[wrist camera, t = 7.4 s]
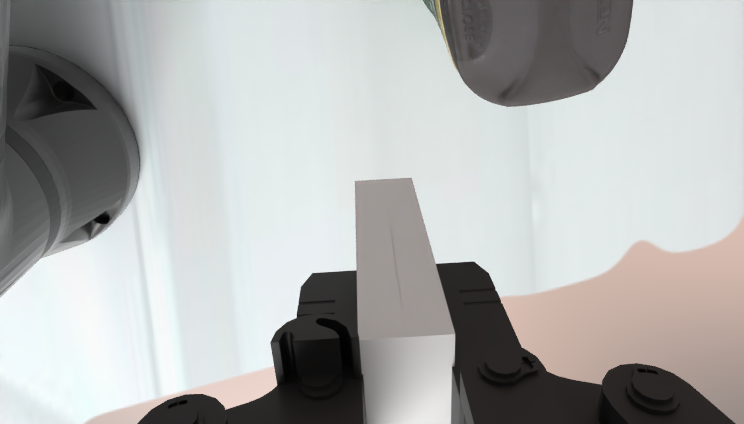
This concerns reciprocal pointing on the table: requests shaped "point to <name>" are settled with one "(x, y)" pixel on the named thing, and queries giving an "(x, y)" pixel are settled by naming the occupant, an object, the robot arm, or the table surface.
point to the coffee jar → (533, 45)
